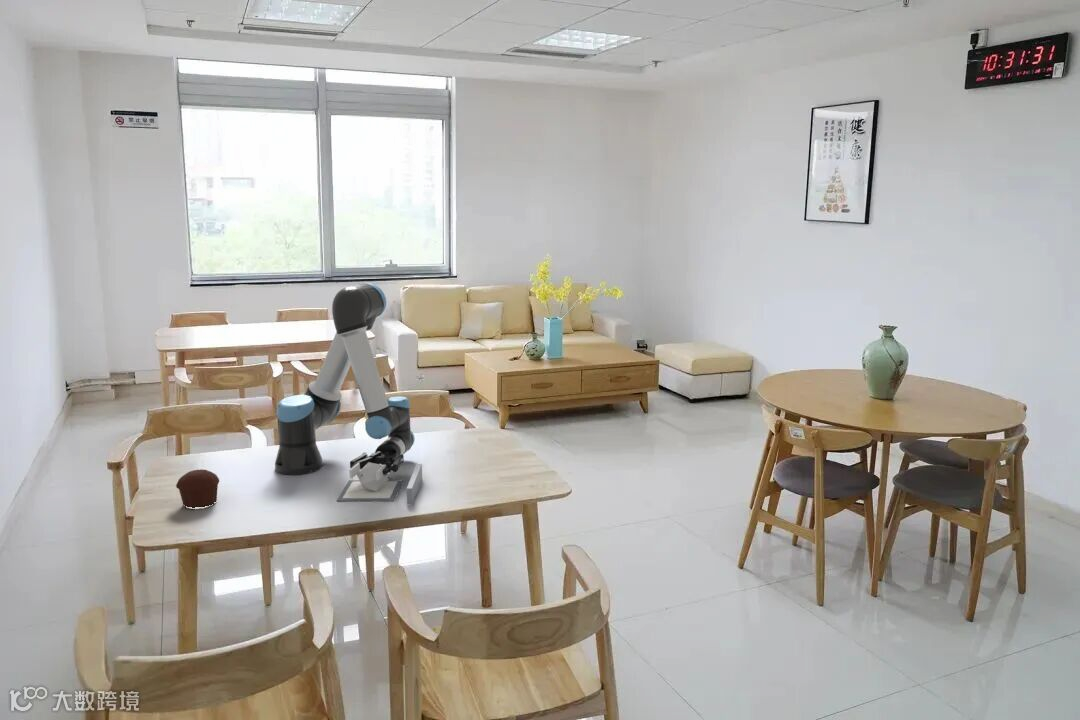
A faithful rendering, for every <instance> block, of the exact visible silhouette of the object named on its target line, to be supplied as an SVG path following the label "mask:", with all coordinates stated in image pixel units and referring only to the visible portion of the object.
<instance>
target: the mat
mask: <svg viewBox="0 0 1080 720" xmlns="http://www.w3.org/2000/svg"><path fill="white" fill-rule="evenodd" d="M403 482H404V480H402V479H397V480H396V479H390V480H389V479H388V480H387V481H386V482H385V483H384V484H383V485H382V486H381V487H380V488H379V489H378V490H377V492H375V491H371V490H366V489H363V487H362V485H361V483H360V481H359V479H358V480H355V479H353V480H352V479H349V480H348V481H347V483H346V485H345V486H344V487H343V489H342V491H341V492H340V494H339V496H337V498H336V500H335V501H336V502H338V503H339V502H341V503H342V502H343V503H346V502H354V503H355V502H356V503H357V502H361V503H362V502H371V503H372V502H374V503H375V502H395V500H396V498H397V496H398V494H399V491H400V489H401V487H402V484H403Z"/></svg>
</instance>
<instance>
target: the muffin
mask: <svg viewBox="0 0 1080 720" xmlns="http://www.w3.org/2000/svg"><path fill="white" fill-rule="evenodd" d="M219 482H220V478H219V476H217V474H216V473H214V472H212V471H210V470H207V469H195V470H190V471H188V472H187V473H185V474H183V475H182V476H180V478H179V479H178V480H177V483H176V485H175V488H177V489H178V490H179V495H180V498H181V501H182V505H183V504H184V505H185V506H187V507H192V508H195V507H205V506H209V505H212V504H214V502H216V501H217V498H218V486H219ZM216 503H217V502H216ZM214 505H215V504H214Z"/></svg>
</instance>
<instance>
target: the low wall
mask: <svg viewBox="0 0 1080 720" xmlns="http://www.w3.org/2000/svg"><path fill="white" fill-rule="evenodd" d="M422 481H423V464H422V463H416V465H415V467H414V470H413V471H412V475H411V477H410V479H409V481H408V484H407V487H406V505H408V506H409V505H410V506H411V505H413V504H414V501H415V500H416V496H417V493H418V491H419V488H420V486H421V483H422Z"/></svg>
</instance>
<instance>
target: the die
mask: <svg viewBox="0 0 1080 720" xmlns="http://www.w3.org/2000/svg"><path fill="white" fill-rule="evenodd" d="M382 466H383V465H382V464H375V463H370V462H368V463H367V464H366V465H365V466H364V467H363V468H362V469H361V470H360V471H359V472H358V473H357V475H356V476H357V479H358V480H359V481H360V483H361V485H362V487H363V489H366V490H371V491H375V492H377V490H378V489H379V488H380V487H381V486H382V485H383V484H384V483H385V482H386V481H387V480H389V478H388V476H387V474H386V475H384V476H383V477H382V478H381V479H380V480H376V471H377V470H378V469H379V468H380V467H382Z"/></svg>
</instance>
